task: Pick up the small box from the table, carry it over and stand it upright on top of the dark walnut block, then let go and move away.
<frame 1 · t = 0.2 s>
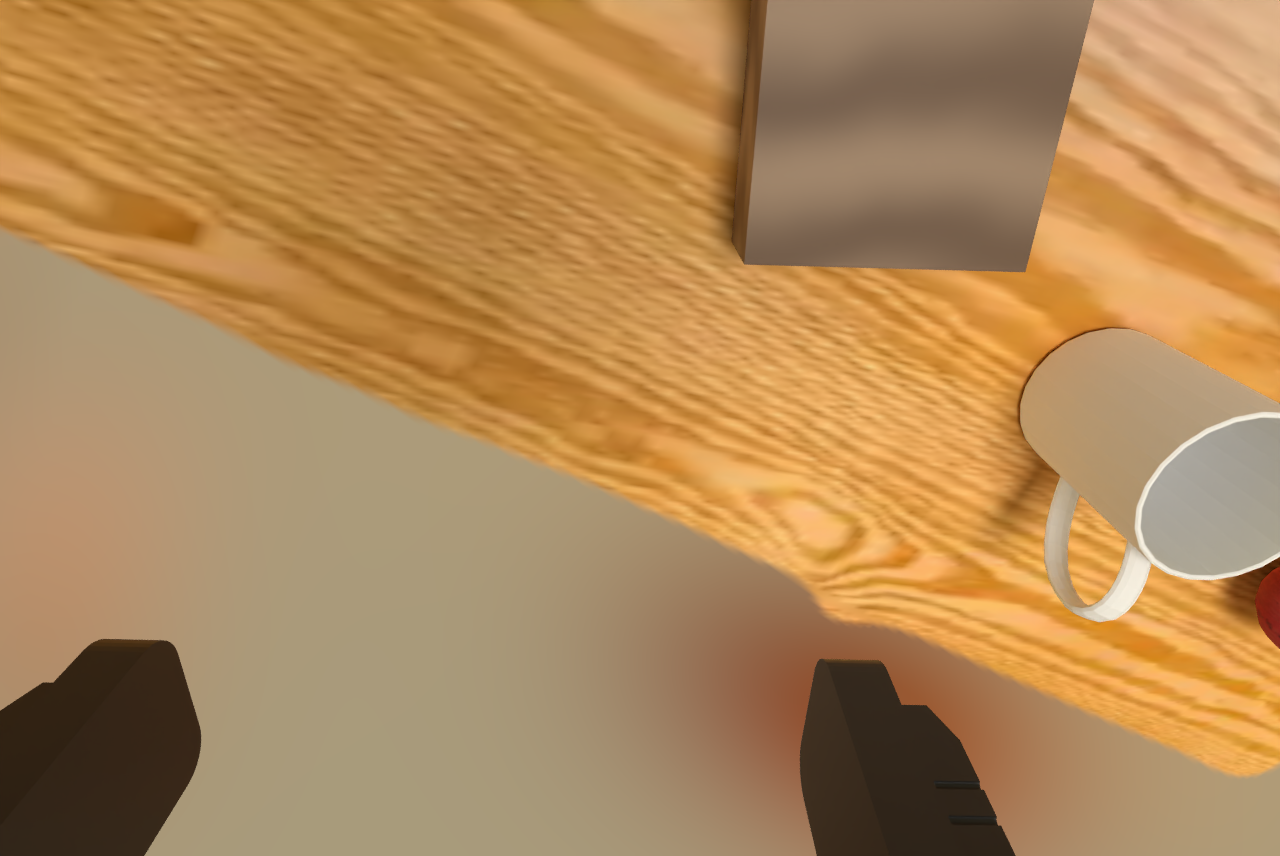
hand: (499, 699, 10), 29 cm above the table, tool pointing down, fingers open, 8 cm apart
onion: (1270, 571, 45), on the table
walnut block: (880, 72, 33), on the table
mug: (1064, 428, 41), on the table
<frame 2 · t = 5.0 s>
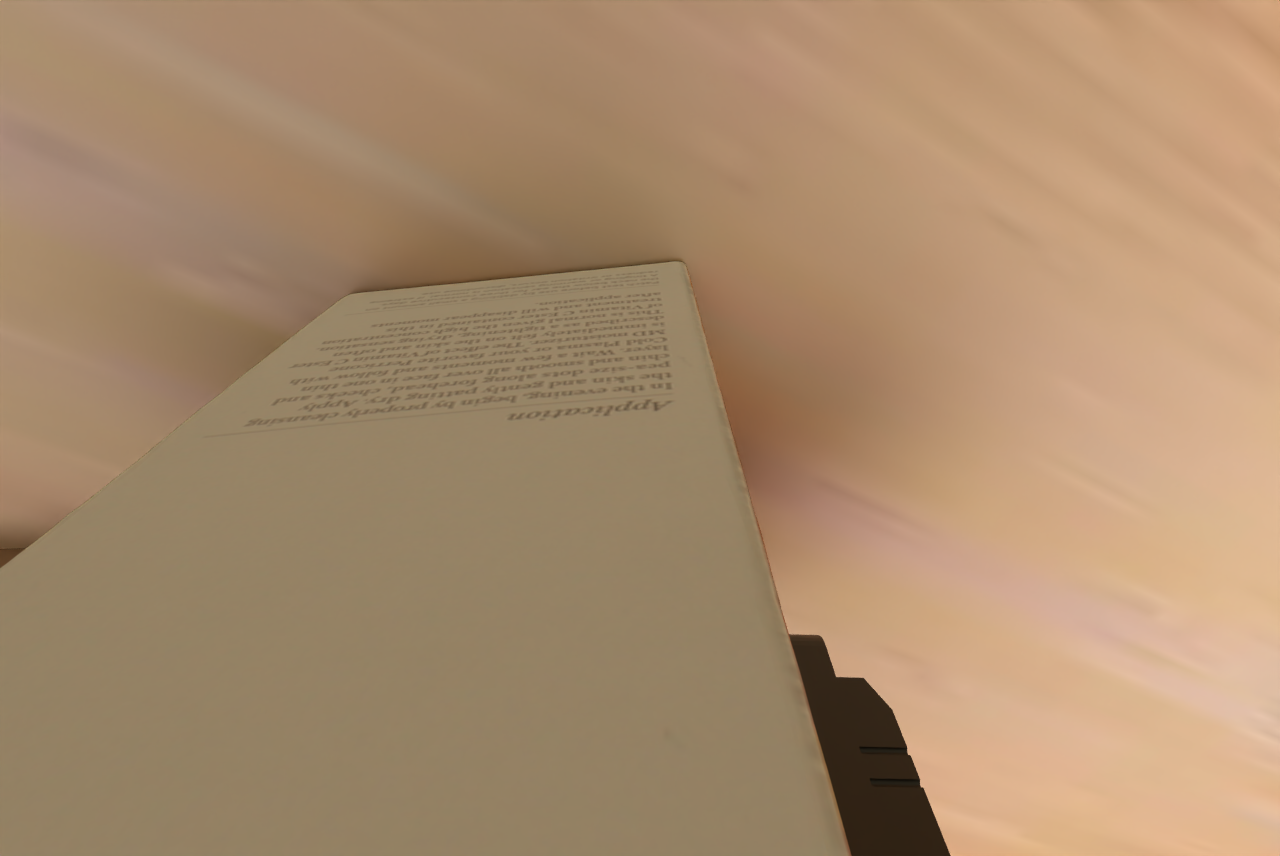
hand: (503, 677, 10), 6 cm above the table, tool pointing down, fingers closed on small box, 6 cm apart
small box: (551, 460, 15), on the table, touching gripper
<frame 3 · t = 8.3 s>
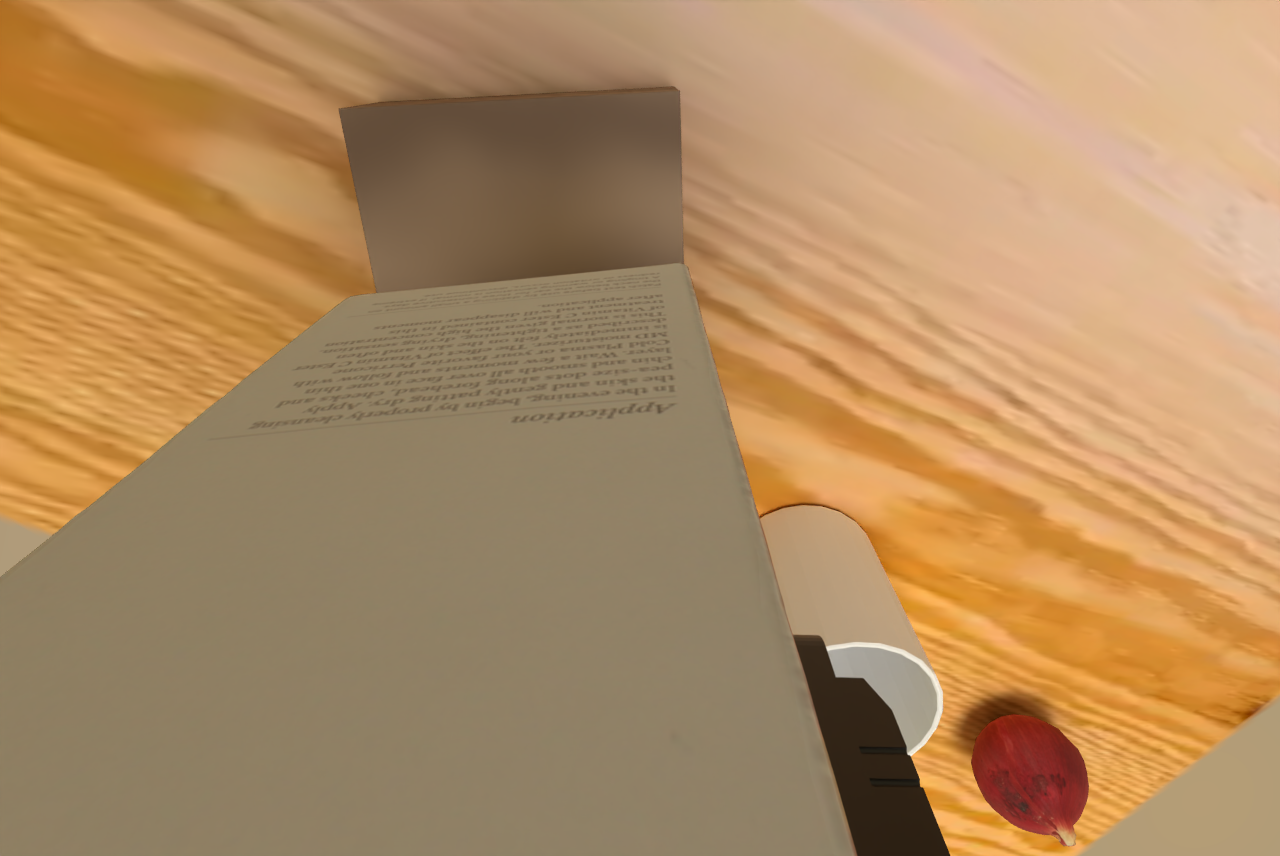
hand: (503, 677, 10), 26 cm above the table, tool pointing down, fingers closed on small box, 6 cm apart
onion: (998, 717, 46), on the table
walnut block: (546, 274, 34), on the table
mug: (777, 589, 42), on the table
small box: (553, 461, 15), point 20 cm above the table, touching gripper
when the fingers open (12 cm above the table, at t = 11.6 s): small box drops 2 cm, resting on walnut block.
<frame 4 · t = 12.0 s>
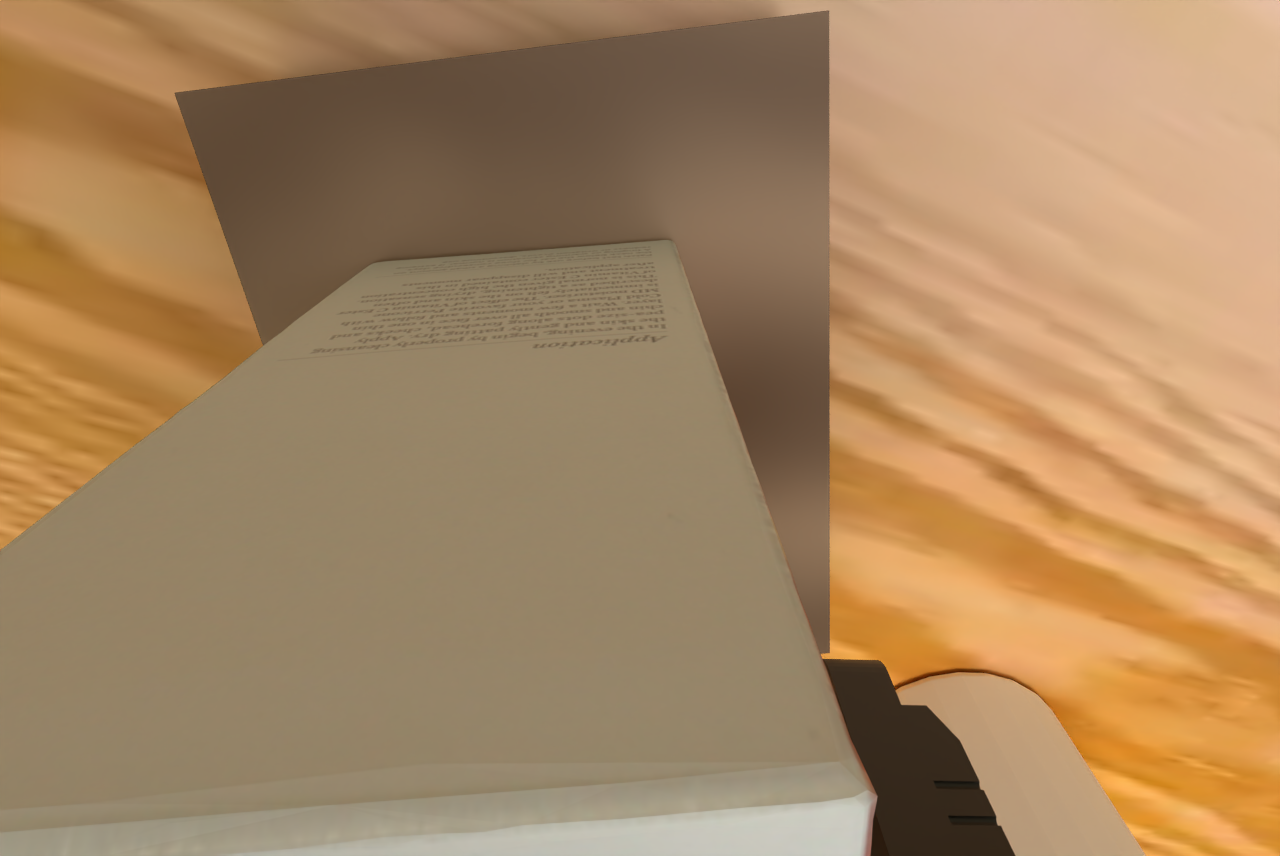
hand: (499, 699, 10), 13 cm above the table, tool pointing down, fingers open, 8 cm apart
walnut block: (575, 347, 21), on the table, touching small box
mug: (910, 779, 29), on the table
small box: (550, 419, 17), point 4 cm above the table, touching walnut block
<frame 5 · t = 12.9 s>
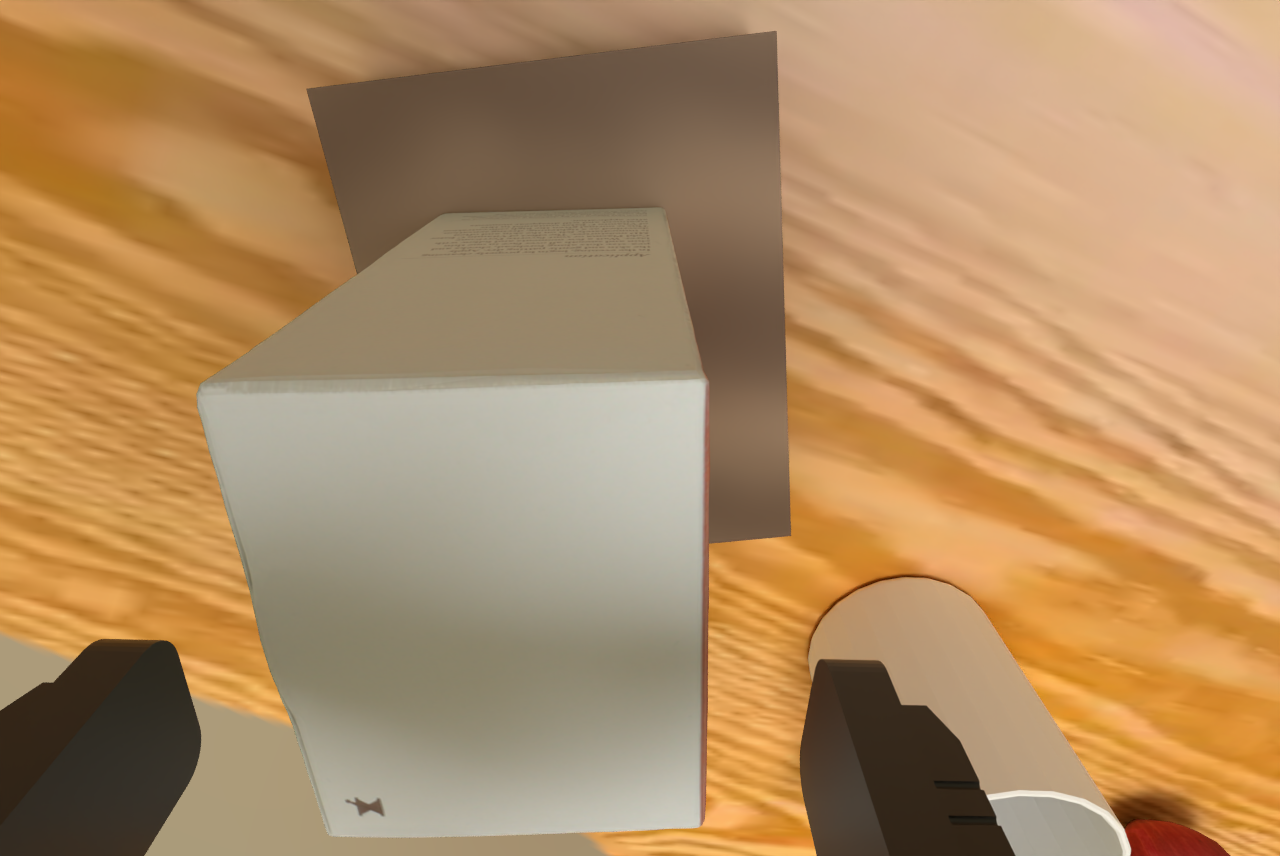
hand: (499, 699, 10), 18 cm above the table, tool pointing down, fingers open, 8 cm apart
onion: (1130, 819, 38), on the table
walnut block: (590, 296, 27), on the table, touching small box
mug: (868, 676, 34), on the table
small box: (566, 342, 22), point 4 cm above the table, touching walnut block
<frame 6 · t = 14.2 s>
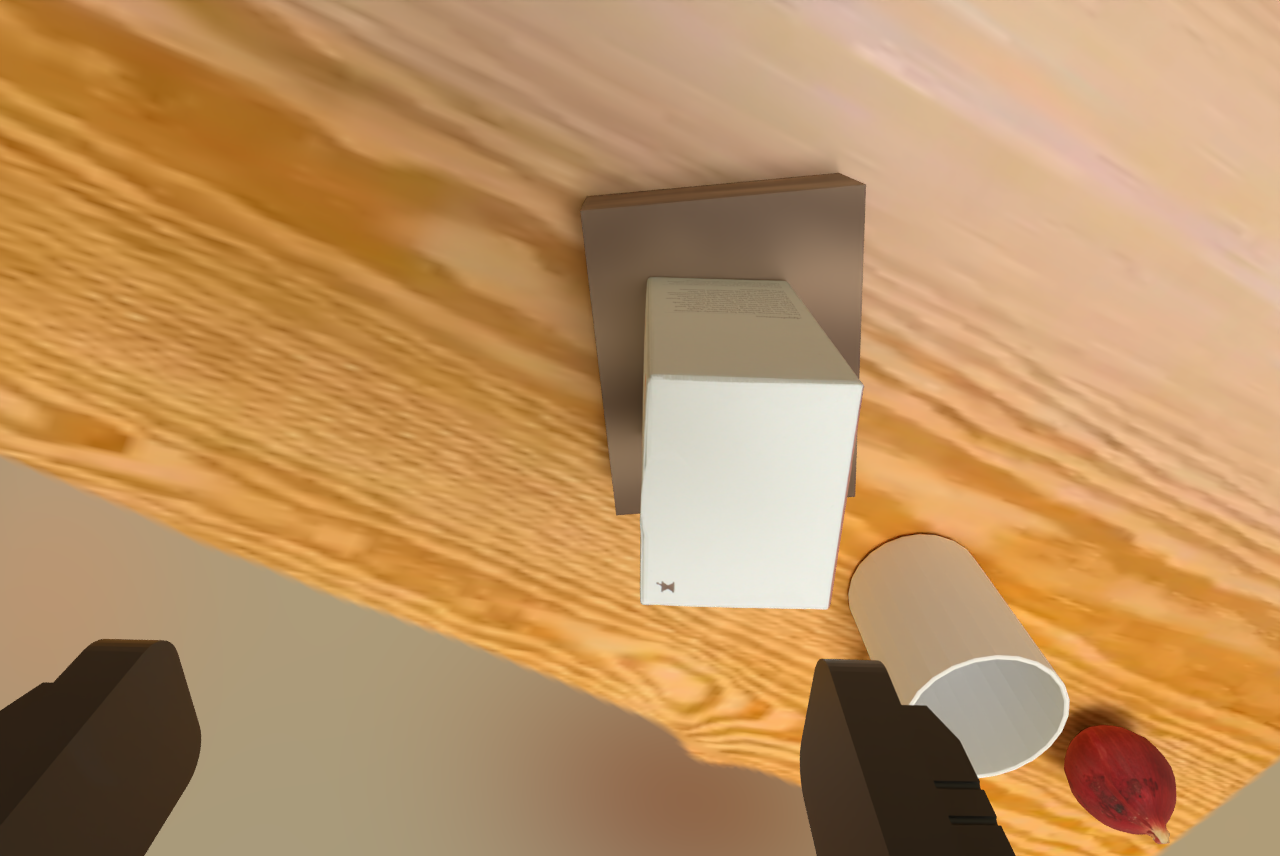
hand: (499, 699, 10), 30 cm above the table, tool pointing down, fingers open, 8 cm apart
onion: (1084, 728, 51), on the table
walnut block: (718, 333, 39), on the table, touching small box
mug: (890, 610, 46), on the table
small box: (713, 360, 35), point 4 cm above the table, touching walnut block
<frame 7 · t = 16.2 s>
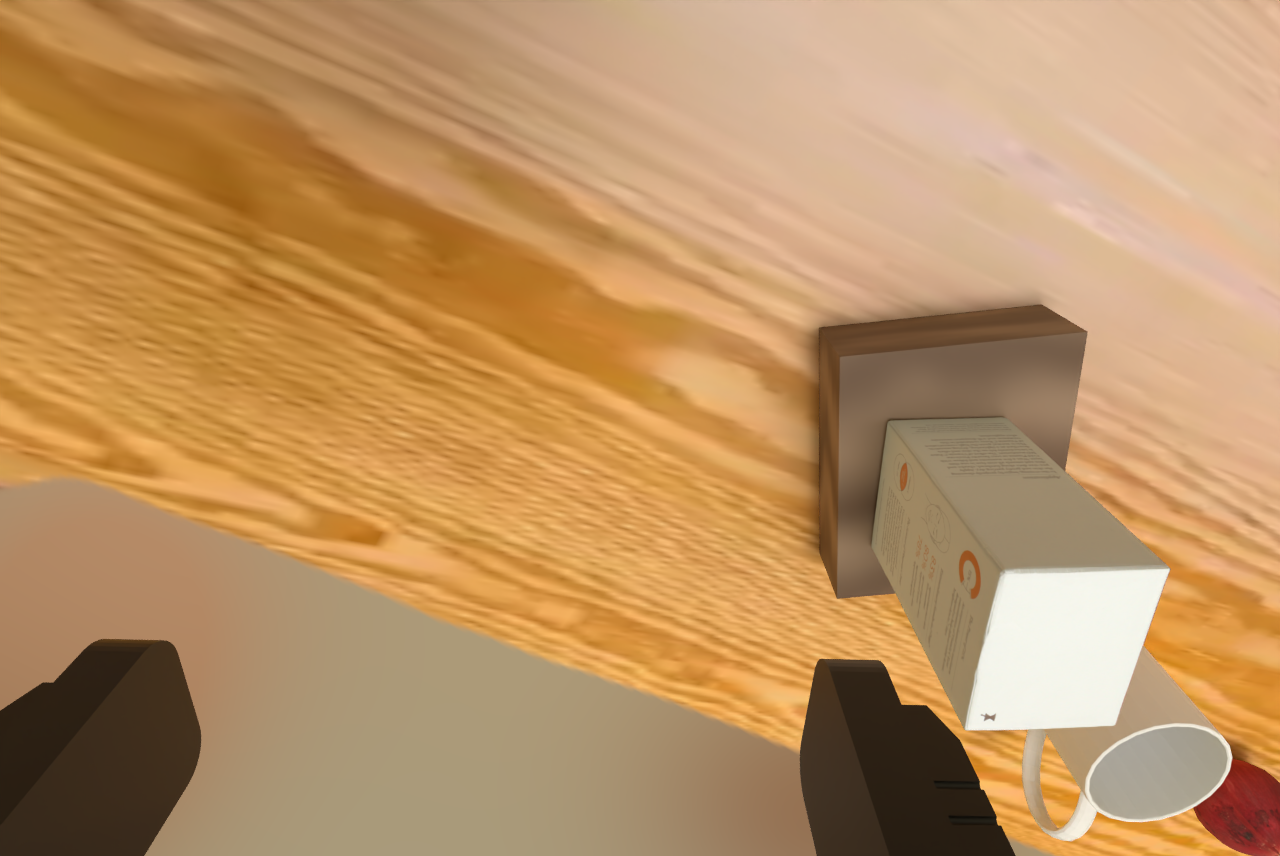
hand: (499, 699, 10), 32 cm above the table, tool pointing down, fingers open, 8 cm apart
onion: (1203, 759, 56), on the table
walnut block: (919, 435, 45), on the table, touching small box
mug: (1039, 663, 52), on the table
small box: (934, 481, 40), point 4 cm above the table, touching walnut block
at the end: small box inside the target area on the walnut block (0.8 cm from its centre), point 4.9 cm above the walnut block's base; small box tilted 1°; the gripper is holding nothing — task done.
